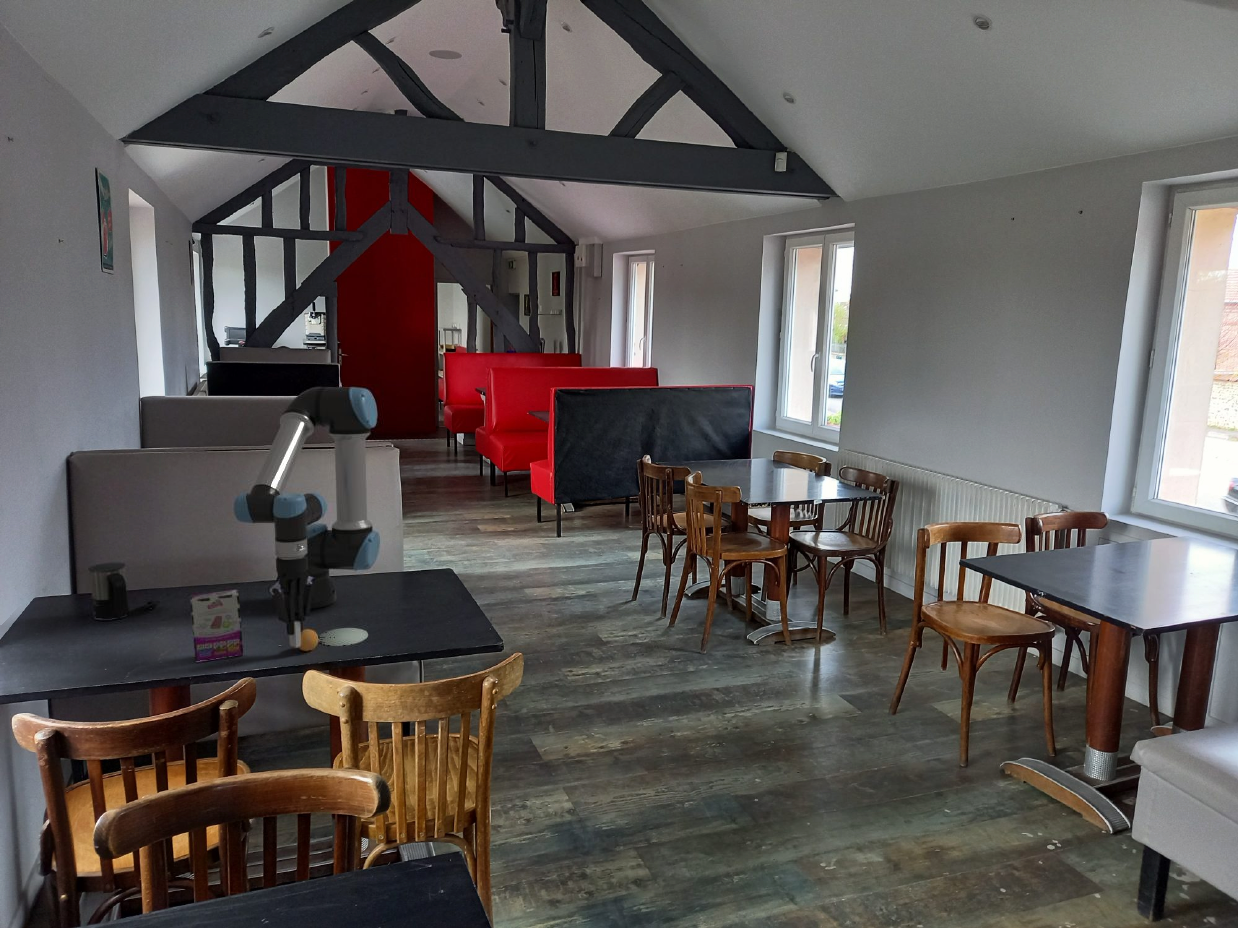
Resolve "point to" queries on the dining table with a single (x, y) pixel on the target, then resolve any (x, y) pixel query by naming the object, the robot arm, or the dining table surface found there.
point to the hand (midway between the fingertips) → (295, 645)
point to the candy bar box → (216, 625)
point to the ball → (308, 640)
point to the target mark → (343, 636)
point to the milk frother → (111, 591)
